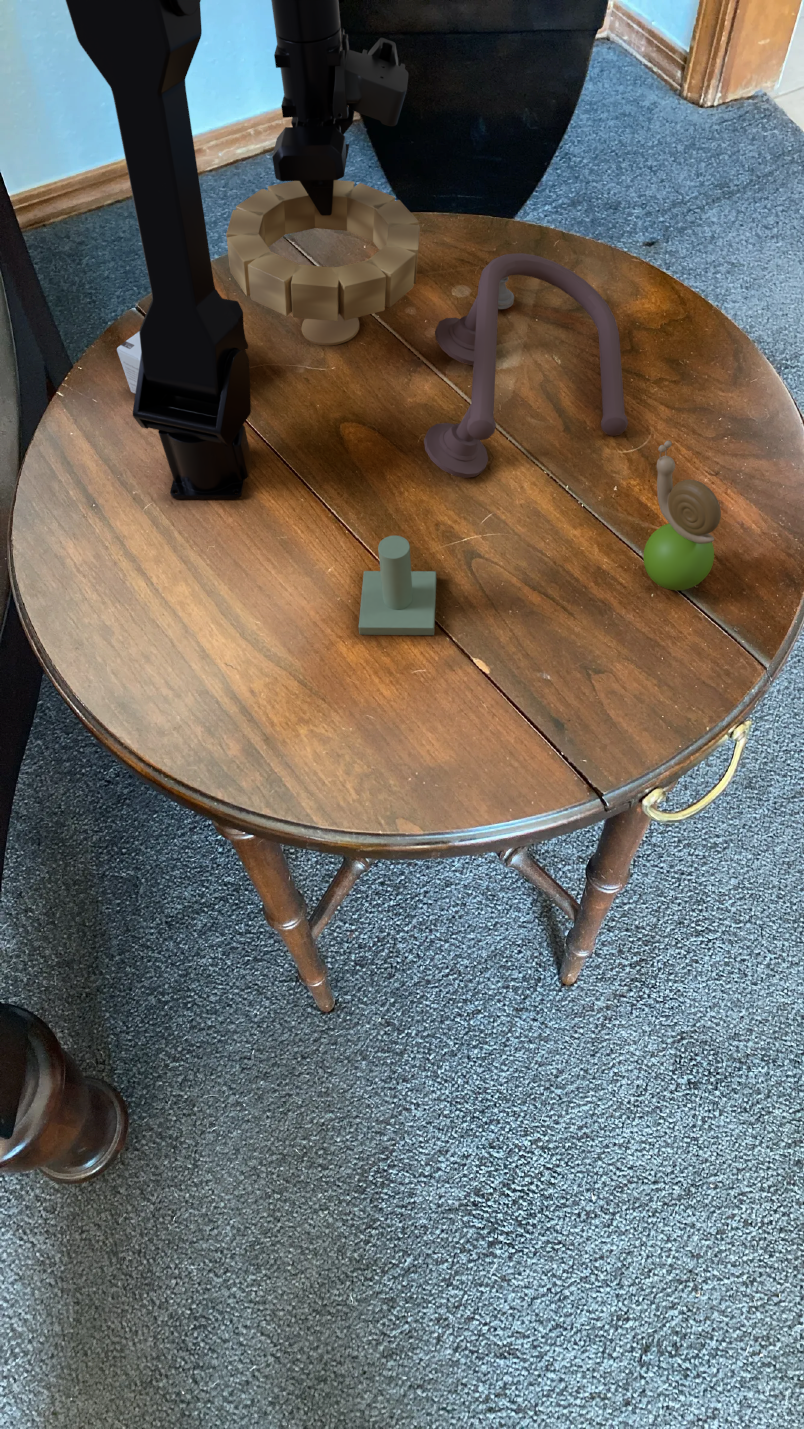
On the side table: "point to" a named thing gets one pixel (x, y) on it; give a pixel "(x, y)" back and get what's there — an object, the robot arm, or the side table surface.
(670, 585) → the snail figurine
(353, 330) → the cork coaster
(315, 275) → the birch ring
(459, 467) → the toilet paper hanger
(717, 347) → the side table surface
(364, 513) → the side table surface
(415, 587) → the peg stand
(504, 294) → the pawn
